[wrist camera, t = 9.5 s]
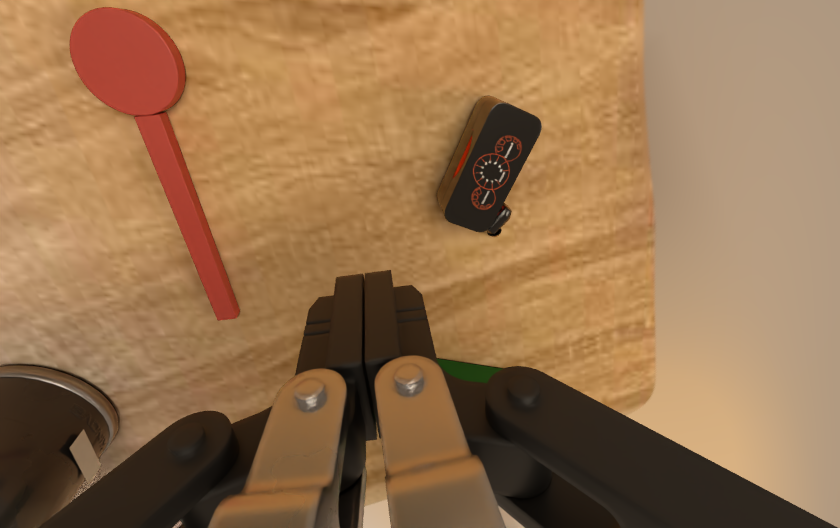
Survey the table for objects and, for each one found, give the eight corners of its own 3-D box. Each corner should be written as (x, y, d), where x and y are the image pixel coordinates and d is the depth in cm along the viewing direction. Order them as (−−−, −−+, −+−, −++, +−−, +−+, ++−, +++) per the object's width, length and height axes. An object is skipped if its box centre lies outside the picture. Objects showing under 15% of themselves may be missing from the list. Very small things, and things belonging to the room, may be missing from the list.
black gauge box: (426, 209, 24) (434, 232, 21) (479, 90, 21) (496, 98, 18) (493, 233, 25) (509, 257, 22) (552, 123, 22) (578, 135, 19)
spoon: (196, 316, 26) (191, 325, 25) (62, 12, 18) (48, 11, 17) (264, 308, 26) (261, 316, 25) (164, 4, 18) (155, 3, 17)
